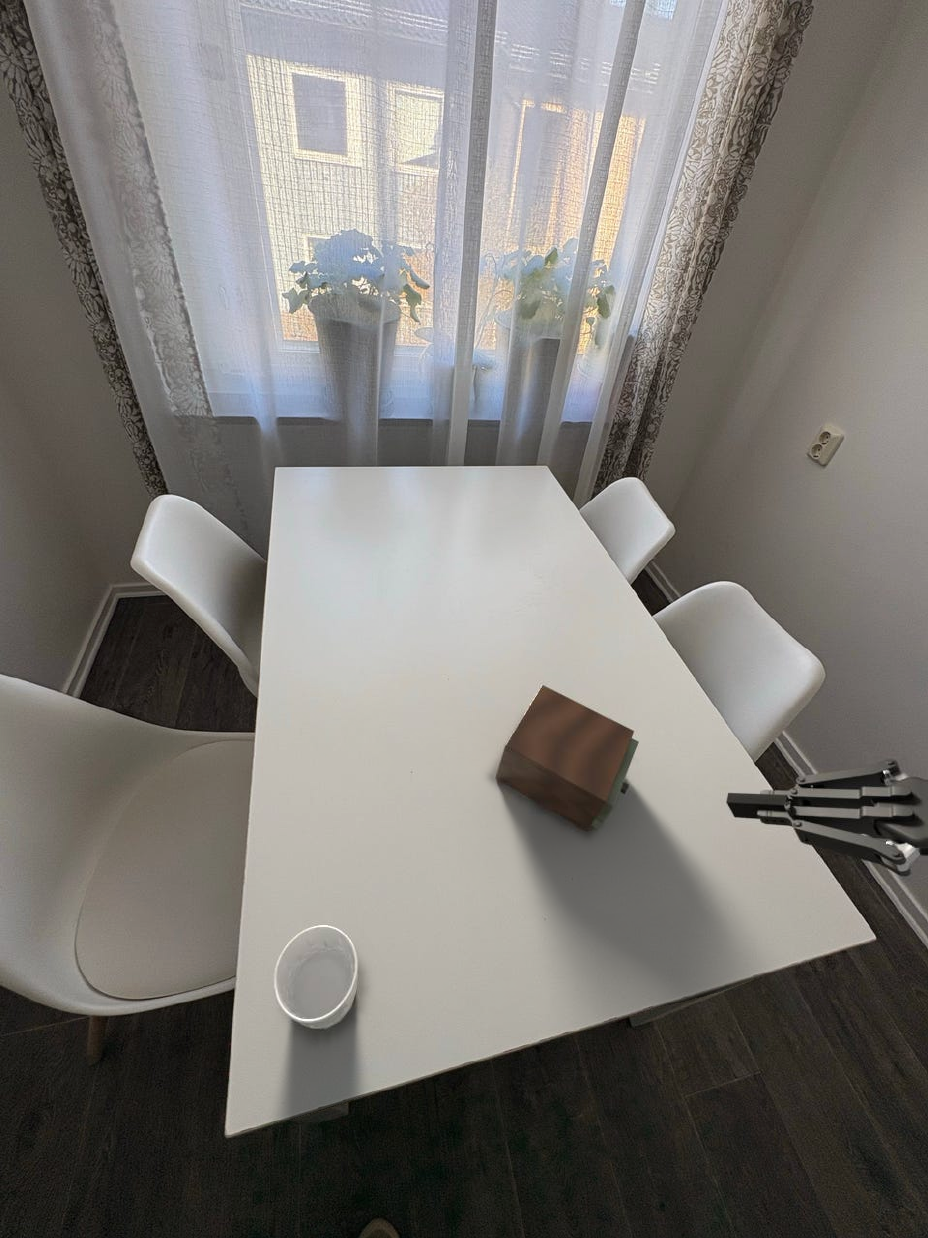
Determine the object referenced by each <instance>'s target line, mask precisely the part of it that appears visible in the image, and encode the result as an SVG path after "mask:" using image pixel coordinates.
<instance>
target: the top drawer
mask: <svg viewBox="0 0 928 1238" xmlns="http://www.w3.org/2000/svg"><path fill="white" fill-rule="evenodd" d="M639 743H640V741H639V740H637V739H635V738H633V737H632V739H631V741H630V744H629V746H628V749H627V751H626V754H625V756H624V759H623V761H622V764H621V766H620V769H619V771H618V774H617V776H616V779H615V781H614V784H613V786H612V789H611V791H610V794H609V796H608V799H607V801H606V803H605V804H604V806H603V808H602V809H601V811H600V812H599V814H598V815H597V817H596V818H595V820H594V821H593V823H592V824H591V826H590V827H593V828H594V829H596V830H599V829H600V828H601V826H602V825H603V824H604V822H605V820H606V819H607V818H608V816H609V814H611V812H612V810H613V809H614V807H615V805H616V802H617V800H618V798H619V796H620V793H621V794H623V795H625V794H626V793H627V791H628V790H629V787H630V783H628V782H626V781H625V779H626V777H627V774H628V773H629V772H628V771H629V769H630V766H631V763H632V761H633V759H634V757H635V753H636V750H637V749H638V746H639Z"/></svg>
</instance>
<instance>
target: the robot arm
mask: <svg viewBox="0 0 928 1238" xmlns="http://www.w3.org/2000/svg"><path fill="white" fill-rule="evenodd" d="M795 781H796V784H795V785H794V787H792V788H790V789H788V790H779V789H778V790H776V789H775V790H774V789H763V790H760V791H759V793H749V792H747V793H746V792H745V793H744V792H740V793H739V792H728V793H727V796H726V801H725V803H726V805H727V807H728V808H729V810H730V812H731V814H732V816H733V817H734V818H737V819H750V820H751V819H753V820H759V821H760V823H761V824H764V825H772V826H783V827H784V826H786V827H790V828H791V827H792V828H793V830H794V832H795V835H796V836H797V838H798V841H799V842H800V843H801V844H804V845H807V846H812V847H815V848H818V849H821V850H826V851H829V852H833V853H837V854H840V855H844V856H847V857H851V858H855V859H859V860H862V861H865V862H870V863H873V864H876V865H880V866H882V867H884V868H886V869H887V870H889V871H891V872H892V873H894V874H896V875H898V876H900V877H905V878H906V877H909V876H910V875H911V874H912V870H911V867H910V865H912V863H913V862H914V861H916V860H917V859H918V857H919V856H922V857H928V779H924V778H921V777H919V776H909V775H908V774H906V773H905V772H904V771H903V770H902V769H901V767H900V765H899V763H898V761H897V760H896V759H894V758H887V759H884V760H881V761H879V762H876V763H874V764H872V765H867V766H860V767H854V768H847V769H839V770H834V771H827V772H819V773H812V774H807V775H800V776H798V777H796V779H795ZM881 839H882V840H881ZM883 840H886V842H885V841H883Z"/></svg>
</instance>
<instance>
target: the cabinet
mask: <svg viewBox="0 0 928 1238" xmlns="http://www.w3.org/2000/svg"><path fill="white" fill-rule="evenodd" d="M634 733H635V730H633V729H631V728H629V727H627V726H625V725H623V724H621V723H619V722H618V721H615V720H613V719H612V718H610V717H607V716H606V715H603V714H602V713H599V712H597V711H595V710H593V709H591V708H589V707H588V706H586V705H584V704H582V703H580V702H578V701H576V700H574V699H572V698H569V697H568V696H566V695H563V694H562V693H561V692H557V691H556V690H554V689H552V688H550V687H548V686H546V685H544V684H542V685H541V686H540V688H539V689H538V691H537V693H535V696H534V698H533V699H532V701H531V702H530V704H529V706H528V707H527V709H526V711H525V712H524V714H523V715H522V718H521V719H520V720H519V722H518V724H517V725H516V727H515V729H514V731H513V732H512V733H511V735H510V737H509V738H508V740H507V742H506V743H505V744H504V748H503V752H502V753H501V754H502V755H501V757H500V761H499V764H498V768H497V771H496V773H495V774H496V775H495V779H496V780H497V781H499V782H501V783H503V784H504V785H506V786H508V787H510V788H511V789H512V790H514V791H517V792H518V793H519V794H522V795H523V796H525V797H527V799H530V800H531V801H534V802H535V803H537V804H539V805H540V806H542V807H544V808H545V809H547V810H549V811H551V812H552V813H554V814H556V815H558V816H559V817H561V818H563V819H564V820H566V821H568V822H570V823H571V824H573V825H575V826H577V827H578V828H580V829H581V830H583V831H585V832H588V830H589V829H590V827H592V826H591V824H592V823H593V821H594V820H595V818H596V817H597V815H598V814H599V812H600V811H601V809H602V808H603V806H604V804H605V803H606V801H607V799H608V796H609V794H610V791H611V789H612V786H613V784H614V781H615V779H616V776H617V774H618V771H619V769H620V766H621V764H622V761H623V759H624V756H625V754H626V751H627V749H628V746H629V744H630V741H631V739H632V738H633V735H634Z"/></svg>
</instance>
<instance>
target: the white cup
mask: <svg viewBox="0 0 928 1238" xmlns="http://www.w3.org/2000/svg"><path fill="white" fill-rule="evenodd" d="M277 959H278V960H277V961H276V965H275V969H274V973H273V980H272V981H273V983H272V984H273V993H274V997H275V1000H276V1003H277V1005H278V1006H279V1009H280V1010H282V1012H283V1013H284V1014H285V1016H287V1017H288V1018H289V1019H292V1020H293V1021H295V1022H296V1023H298V1024H299V1025H301V1026H304V1027H305V1028H310V1029H313V1030H314V1029H315V1030H327V1029H329V1028H331V1027H333V1026H335V1025H337V1024H338V1023H340V1022H342V1020H343V1019H344V1018H345V1016H346V1015H347V1014H348V1012H350V1010H351V1009H352V1006H353V1003H354V1000H355V996H356V994H357V988H358V980H359V971H358V970H359V969H358V968H359V966H358V963H359V962H358V954H357V951H356V949H355V945H354V944H353V942H352V941H351V939H350V937H349V936H348V935H347V934H346V933H344V932H343V931H342V930H340V929H339V928H336V927H335V926H330V925H316V926H311V927H309V928H306V929H304V930H303V931H300V932H299V933H298V934H296V935H294V936H293V938H292V939H291V940H290V941H289V942H288V943H287V944H286V945H285V947H284V949H282V952H281V953H280V954H279V957H278V958H277Z"/></svg>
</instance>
